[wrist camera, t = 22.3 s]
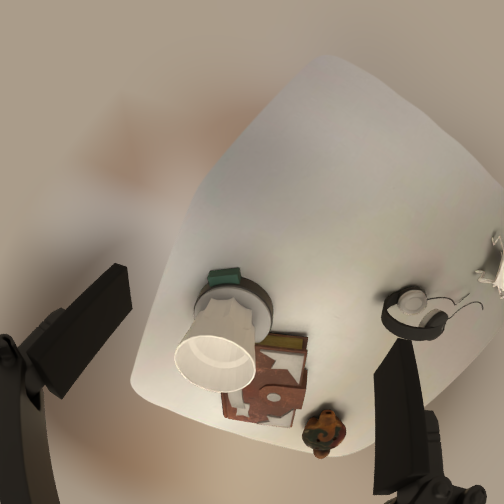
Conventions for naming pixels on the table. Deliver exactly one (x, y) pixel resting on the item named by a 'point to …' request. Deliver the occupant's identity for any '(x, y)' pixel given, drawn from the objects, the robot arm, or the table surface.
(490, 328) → the table surface
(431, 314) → the headphones
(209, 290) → the scale
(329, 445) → the ocarina
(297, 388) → the book
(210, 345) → the cup
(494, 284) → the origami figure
